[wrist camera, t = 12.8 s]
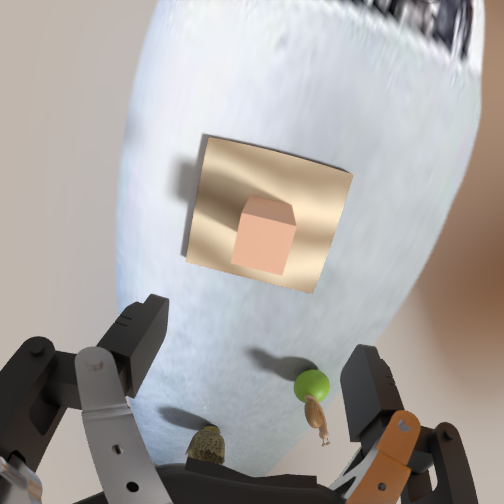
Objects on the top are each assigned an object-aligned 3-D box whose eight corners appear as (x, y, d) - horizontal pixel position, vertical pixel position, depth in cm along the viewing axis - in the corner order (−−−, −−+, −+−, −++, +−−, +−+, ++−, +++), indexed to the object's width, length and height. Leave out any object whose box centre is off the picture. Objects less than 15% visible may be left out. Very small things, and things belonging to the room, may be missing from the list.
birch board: (210, 137, 29) (208, 136, 28) (351, 173, 29) (353, 174, 28) (188, 258, 35) (185, 261, 34) (311, 289, 35) (312, 293, 34)
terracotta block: (250, 194, 30) (241, 212, 23) (291, 205, 30) (296, 226, 23) (241, 234, 32) (230, 263, 24) (281, 243, 32) (282, 275, 24)
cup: (231, 437, 50) (226, 468, 42) (198, 434, 51) (190, 463, 43) (226, 420, 47) (220, 453, 40) (190, 416, 48) (181, 448, 41)
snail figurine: (305, 392, 42) (308, 451, 31) (287, 370, 41) (287, 434, 29) (335, 380, 41) (345, 440, 30) (318, 357, 39) (327, 421, 28)
